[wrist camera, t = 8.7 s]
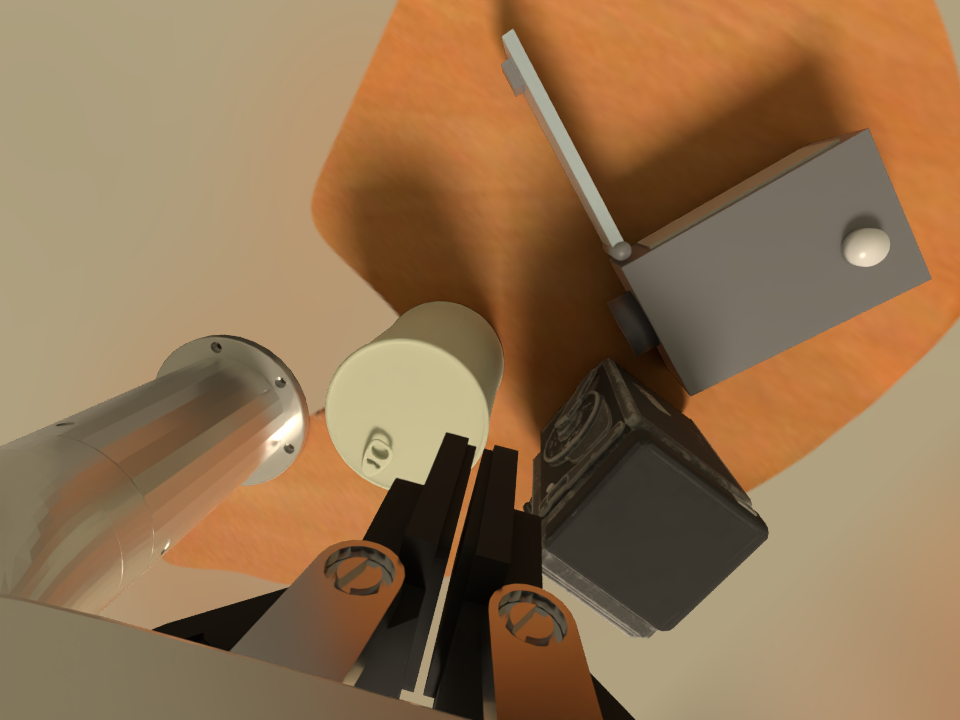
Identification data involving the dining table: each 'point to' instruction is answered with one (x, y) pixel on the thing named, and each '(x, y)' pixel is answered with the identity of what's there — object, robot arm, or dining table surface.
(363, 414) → the can
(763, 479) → the dining table surface
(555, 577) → the camera
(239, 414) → the robot arm
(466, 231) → the dining table surface
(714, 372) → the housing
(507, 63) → the side door
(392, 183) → the dining table surface
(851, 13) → the dining table surface
